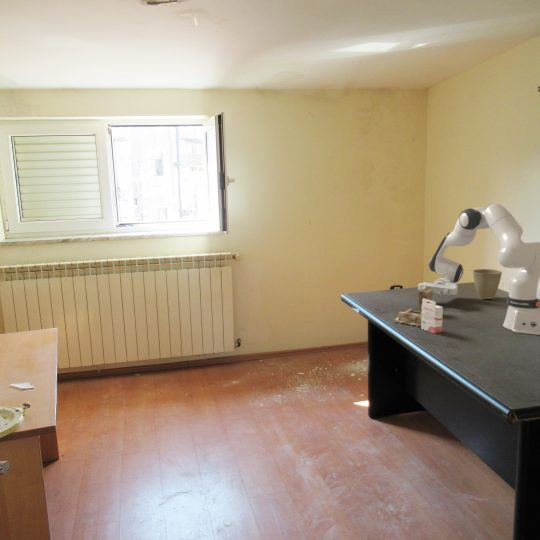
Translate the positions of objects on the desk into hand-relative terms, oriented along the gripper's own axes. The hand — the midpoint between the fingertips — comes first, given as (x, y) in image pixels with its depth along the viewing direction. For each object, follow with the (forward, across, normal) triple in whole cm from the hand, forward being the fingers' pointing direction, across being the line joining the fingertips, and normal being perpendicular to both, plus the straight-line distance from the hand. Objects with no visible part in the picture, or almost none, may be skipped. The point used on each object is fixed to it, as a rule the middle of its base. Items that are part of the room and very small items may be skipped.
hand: (433, 291), depth 251 cm
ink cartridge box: (+38, +12, +9) cm, 41 cm away
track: (+28, 0, +9) cm, 30 cm away
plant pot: (-36, +18, +9) cm, 41 cm away
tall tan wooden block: (+12, 0, +9) cm, 15 cm away
